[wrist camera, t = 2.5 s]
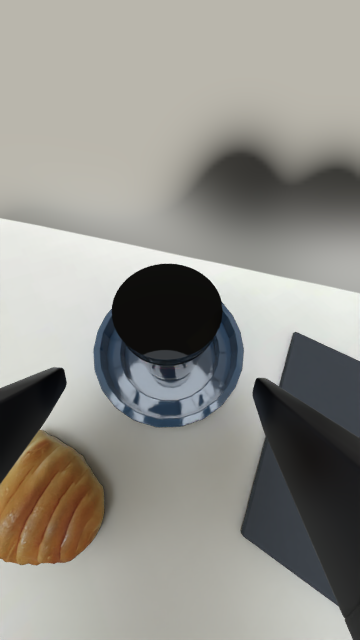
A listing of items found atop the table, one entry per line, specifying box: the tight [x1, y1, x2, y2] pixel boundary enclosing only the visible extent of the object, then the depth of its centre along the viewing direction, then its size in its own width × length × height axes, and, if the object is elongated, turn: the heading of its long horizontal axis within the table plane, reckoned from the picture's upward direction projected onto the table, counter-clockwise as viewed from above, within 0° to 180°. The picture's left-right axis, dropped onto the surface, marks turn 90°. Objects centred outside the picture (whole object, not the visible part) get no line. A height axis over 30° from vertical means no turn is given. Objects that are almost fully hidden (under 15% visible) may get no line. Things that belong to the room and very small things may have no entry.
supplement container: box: [112, 264, 223, 380], centre depth 15 cm, size 7×7×10 cm
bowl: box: [94, 303, 244, 427], centre depth 18 cm, size 14×14×4 cm
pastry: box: [0, 430, 104, 565], centre depth 12 cm, size 9×7×4 cm
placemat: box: [241, 332, 360, 606], centre depth 16 cm, size 20×15×1 cm
